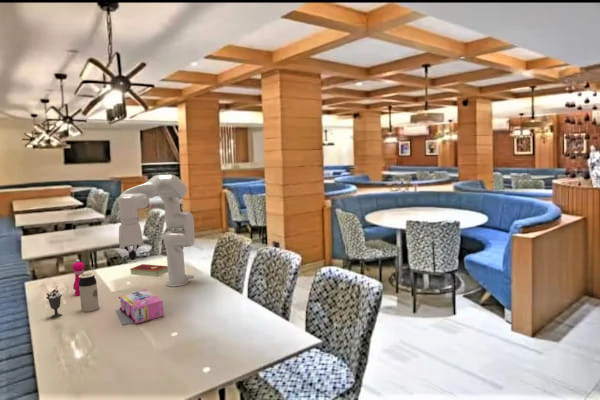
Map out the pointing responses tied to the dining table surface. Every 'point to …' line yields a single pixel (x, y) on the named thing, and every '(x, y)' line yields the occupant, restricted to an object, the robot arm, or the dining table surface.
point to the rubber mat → (123, 318)
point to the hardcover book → (149, 270)
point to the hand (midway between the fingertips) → (132, 259)
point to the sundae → (54, 302)
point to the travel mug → (88, 292)
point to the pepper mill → (77, 275)
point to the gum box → (141, 306)
